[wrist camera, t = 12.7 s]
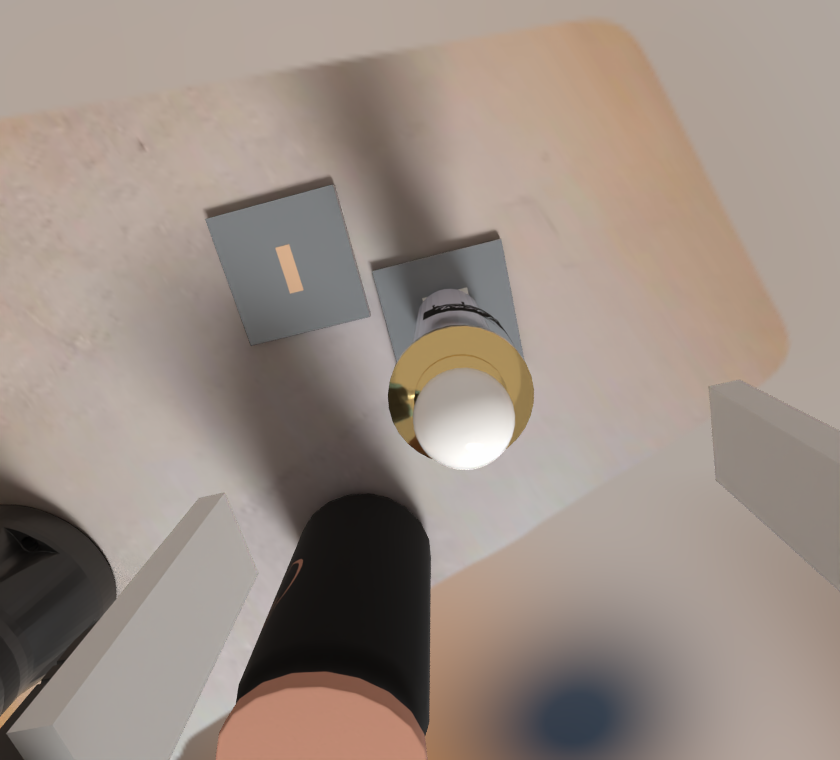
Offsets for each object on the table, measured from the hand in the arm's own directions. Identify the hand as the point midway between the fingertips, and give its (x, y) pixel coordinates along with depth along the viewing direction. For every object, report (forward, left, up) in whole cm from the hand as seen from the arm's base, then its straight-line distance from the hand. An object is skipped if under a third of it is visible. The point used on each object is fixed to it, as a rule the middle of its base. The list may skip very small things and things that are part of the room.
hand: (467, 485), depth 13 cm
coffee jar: (-11, -17, -24) cm, 31 cm away
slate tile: (-10, +6, -23) cm, 26 cm away
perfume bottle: (0, 0, -23) cm, 23 cm away
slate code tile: (0, 0, -23) cm, 23 cm away
